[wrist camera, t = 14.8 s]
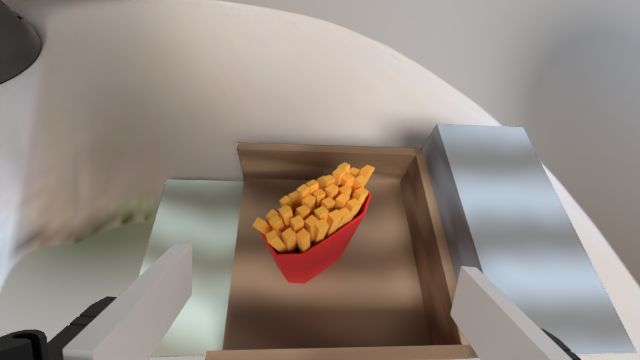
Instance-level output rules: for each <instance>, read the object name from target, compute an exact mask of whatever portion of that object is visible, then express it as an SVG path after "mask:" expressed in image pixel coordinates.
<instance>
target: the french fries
mask: <svg viewBox="0 0 640 360" xmlns="http://www.w3.org/2000/svg"><path fill="white" fill-rule="evenodd" d="M374 169H375V167H372V166H369V165H366V166H365V167H363V168H361V170H360V169H357V168H354V167H353V168H351V169H350V164H348V163H346V162H344V163H342V164H341V165H339V166H337V169H336V170H335V171H334V172H333V174H332V176H331V175H328V176H322V177H320V178H318V179H317V181H316V180H314V179H313V180H311V181H309V182H307V183H306V185H305V184H303V185H302V186H300V187H299V188H298V189H296V190H297V191H294V192H292V193H290V194H288V196H289V197H288V196H287V195H286V196H285V197H283V198H282V199H281V200H279V201H280V204H281V208H279V209H278V210H276V211H274V210H273V209H272V210H271V211H270V212H269V213H268V214H267V215H266V218H267V222H265V221H264V220H262V219H261V218H259V217H258V218H257V219H256V221H255V222H254V224H253V225H252V226H253V227H255V228H256V229H258V230H259V231H261V235H262V237H263V239H264V241H265V243H266V245H267V247H268V249H269V251H270V253H271V255H272V257H273V259H274V261H275V263H276V265H277V266H278V268H279V269H280V271H281V272H282V274H283V275H284V277H285V279H286V280H287V282H288V283H301V284H305V283H306V282H308V281H309V280H311V279H312V278H314V277H315V276H317V275H318V274H320V273H321V272H323V271H324V270H325V269H327V268H328V267H329V266H331V265H332V264H333V263H335V262H336V261H337V260H338V259H340V257H341V256H342V254H343V252H344V250H345V249H346V247H347V245H348V243H349V242H350V240H351V238H352V236H353V235H354V233H355V231H356V229H357V228H358V226H359V224H360V222H361V221H362V219H363V217H364V215H365V213H366V210H367V207H368V204H369V201H370V198H371V195H372V194H371V193H370V192H369V191H368V190H367V189H366V188H365V187H364V186H365V184H366V183H367V181H368V179H369V178H370V176H371V174H372V173H373V171H374Z"/></svg>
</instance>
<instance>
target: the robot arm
mask: <svg viewBox="0 0 640 360" xmlns="http://www.w3.org/2000/svg"><path fill="white" fill-rule="evenodd" d="M40 48H41V41H40V38H39V37H38V35H37V34H36V32H35V31H34V30H33V28H32V27H31V26H30V24H29V23H28V22H27V21H26V20H25V19H24V18H23V17H22V16H20V15H19V14H18V13H16V12H14V11H12V10H11V9H10V8H9V7H8V6H7V5H6V4H5V3H3V2H2V1H1V0H0V83H2V82H4V81H6V80H8V79H10V78H12V77H14V76H15V75H17V74H19V73H20V72H22V71H23V70H24V69H26V68H27V67H28V66H29V65H30V64H31V63H32V62H33V61H34V60H35V59H36V57H37V56H38V54H39V52H40ZM191 295H192V243H181V242H175V243H174V244H173V245H172V246H171V247H170V248H169V249H168V250H167V251H166V252H165V253H164V254H163V255H162V256H161V257H160V258H158V259H157V260H156V261H155V262H154V263H153V264H152V265H151V266H150V267H149V268H148V269H147V270H146V271H145V272H144V273H143V274H142V275H140V276H139V277H138V278H137V279H136V280H135V281H134V282H133V283H132V284H131V285H130V286H129V287H128V288H127V289H126V290H125V291H124V292H123V293H122V294H120V295H119V296H118V297H108V296H107V297H106V298H104V299H101V300H100V301H98V302H96V303H94V304H92V305H91V306H89V307H88V308H87V309H86V310H85V311H84V312H83V313H81V314H80V316H79V317H77V318H76V319H74V320H73V321H72V322H71V323H70V325H69V326H66V327H65V328H64V329H63V330H62V331H61V332H59V333H58V334H57V335H56V336H55V337H54V338H53V339H52V340H50V341H49V342H48V343H47V337H46V335H45V333H44V332H42V331H39V330H23V331H18V332H13V333H10V334H7V335H5V336H2V337H0V360H149V358H150V357H151V355H152V354H153V352H154V351H155V349H156V348H157V346H158V345H159V343H160V342H161V340H162V339H163V337H164V336H165V334H166V333H167V331H168V330H169V328H170V327H171V325H172V324H173V322H174V321H175V319H176V318H177V316H178V315H179V313H180V312H181V310H182V309H183V307H184V306H185V304H186V303H187V301H188V300H189V298H190V297H191ZM450 315H451V317H452V318H453V320H454V321H455V323H456V324H457V326H458V327H459V329H460V330H461V332H462V333H463V335H464V336H465V338H466V339H467V341H468V342H469V343H470V345H471V346H472V348H473V349H474V351H475V352H476V354H477V355H478V357H479V358H480V360H581V359H580V358H579V357H578V356H577V355H576V354H575V353H574V352H571V350H570V349H569V348H568V347H567V346H566V345H565V344H564V343H563V342H562V341H561V340H560V339H558V338H557V337H555V336H554V335H552V334H551V333H549V332H548V331H546V330H545V329H540V328H539V327H538V326H537V325H536V324H535V323H534V322H533V321H532V320H531V319H530V318H529V317H527V316H526V315H525V314H524V313H523V312H522V311H521V310H520V309H519V308H518V307H517V306H516V305H515V304H514V303H513V302H512V301H511V300H510V299H509V298H508V297H507V296H506V295H505V294H503V293H502V292H501V291H500V290H499V289H498V288H497V287H496V286H495V285H494V284H493V283H492V282H491V281H490V280H489V279H488V278H487V277H486V276H485V275H484V274H483V273H482V272H481V271H479V270H478V269H477V268H476V267H466V266H461V269H460V273H459V278H458V282H457V287H456V291H455V296H454V300H453V305H452V309H451V314H450Z"/></svg>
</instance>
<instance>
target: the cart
mask: <svg viewBox="0 0 640 360" xmlns="http://www.w3.org/2000/svg"><path fill="white" fill-rule="evenodd" d="M237 150H238V155H239V159H240V163H241V167H242V171H243V176H244V181H217V180H174V179H167V180H166V184H165V187H164V190H163V194H162V197H161V201H160V204H159V208H158V211H157V215H156V218H155V222H154V225H153V229H152V232H151V235H150V239H149V242H148V246H147V249H146V253H145V256H144V260H143V263H142V267H141V270H140V273H139V276H140V275H142V274H143V273H144V272H145V271H146V270H147V269H148V268H149V267H150V266H151V265H152V264H153V263H154V262H155V261H156V260H157V259H158V258H160V257H161V256H162V255H163V254H164V253H165V252H166V251H167V250H168V249H169V248H170V247H171V246H172V245H173V244H174V243H175V242H181V243H192V295H191V297H190V298H189V300H188V301H187V303H186V304H185V306H184V307H183V309H182V310H181V312H180V313H179V315H178V316H177V318H176V319H175V321H174V322H173V324H172V325H171V327H170V328H169V330H168V331H167V333H166V334H165V336H164V337H163V339H162V340H161V342H160V343H159V345H158V346H157V348H156V349H155V351H154V352H153V354H152V355H151V357H169V356H206V357H205V360H480V358H479V357H478V355H477V354H476V352H475V351H474V349H473V348H472V346H471V345H470V343H469V342H468V341H467V339H466V338H465V336H464V335H463V333H462V332H461V330H460V329H459V327H458V326H457V324H456V323H455V321H454V320H453V318H452V317H451V315H450V314H451V309H452V305H453V300H454V296H455V291H456V287H457V282H458V278H459V273H460V269H461V266H466V267H476V268H477V269H478V270H479V271H481V272H482V273H483V274H484V275H485V276H486V277H487V278H488V279H489V280H490V281H491V282H492V283H493V284H494V285H495V286H496V287H497V288H498V289H499V290H500V291H501V292H502V293H503V294H505V295H506V296H507V297H508V298H509V299H510V300H511V301H512V302H513V303H514V304H515V305H516V306H517V307H518V308H519V309H520V310H521V311H522V312H523V313H524V314H525V315H526V316H527V317H529V318H530V319H531V320H532V321H533V322H534V323H535V324H536V325H537V326H538V327H539V328H540V329H545V330H546V331H548V332H549V333H551V334H552V335H554V336H555V337H557V338H558V339H560V340H561V341H562V342H563V343H564V344H565V345H566V346H567V347H568V348H569V349H570V350H571V352H574V353H575V354H576V355H577V356H581V355H601V354H620V353H637V351H636V350H635V348H634V346H633V344H632V342H631V340H630V338H629V336H628V334H627V332H626V330H625V328H624V326H623V324H622V322H621V320H620V318H619V316H618V314H617V312H616V310H615V308H614V306H613V304H612V302H611V300H610V298H609V296H608V294H607V292H606V290H605V288H604V286H603V284H602V282H601V280H600V278H599V277H598V275H597V273H596V271H595V269H594V267H593V265H592V263H591V261H590V259H589V257H588V255H587V253H586V251H585V249H584V247H583V245H582V243H581V241H580V239H579V237H578V235H577V233H576V231H575V229H574V227H573V225H572V223H571V221H570V219H569V217H568V215H567V213H566V211H565V209H564V207H563V205H562V204H561V202H560V200H559V198H558V196H557V194H556V192H555V190H554V188H553V186H552V184H551V182H550V180H549V178H548V176H547V174H546V172H545V170H544V168H543V166H542V164H541V162H540V160H539V158H538V156H537V154H536V152H535V150H534V148H533V147H532V144H531V142H530V141H529V138H528V136H527V134H526V132H525V131H524V129H523V127H502V126H478V125H454V124H437V125H436V127H435V128H434V130H433V132H432V133H431V135H430V137H429V138H428V140H427V142H426V143H425V145H424V147H423V148H422V149H421V148H391V147H361V146H331V145H302V144H272V143H242V142H238V147H237ZM344 162H346V163H348V164H350V169H351V168H353V167H354V168H357V169H360V170H361V168H363V167H365V166H366V165H369V166H372V167H375V169H374V171H373V173H372V174H371V176H370V178H369V179H368V181H367V183H366V184H365V186H364V187H365V188H366V189H367V190H368V191H369V192H370V193H371V194H372V195H371V198H370V201H369V204H368V207H367V210H366V213H365V215H364V217H363V219H362V221H361V222H360V224H359V226H358V228H357V229H356V231H355V233H354V235H353V236H352V238H351V240H350V242H349V243H348V245H347V247H346V249H345V250H344V252H343V254H342V256H341V257H340V259H338V260H337V261H336V262H335V263H333V264H332V265H331V266H329V267H328V268H327V269H325V270H324V271H323V272H321V273H320V274H318V275H317V276H315V277H314V278H312V279H311V280H309V281H308V282H306V283H305V284H301V283H288V282H287V280H286V279H285V277H284V275H283V274H282V272H281V271H280V269H279V268H278V266H277V265H276V263H275V261H274V259H273V257H272V255H271V253H270V251H269V249H268V247H267V245H266V243H265V241H264V239H263V237H262V235H261V231H259V230H258V229H256V228H255V227H253V226H252V225H253V224H254V222H255V221H256V219H257V218H258V217H259V218H261V219H262V220H264V221H265V222H267V218H266V215H267V214H268V213H269V212H270V211H271V210H272V209H273V210H274V211H276V210H278V209H279V208H281V204H280V201H279V200H281V199H282V198H283V197H285V196H286V195H287V196H288V194H290V193H292V192H294V191H297V190H296V189H298V188H299V187H300V186H302V185H303V184H305V185H306V183H307V182H309V181H311V180H313V179H314V180H316V181H317V179H318V178H320V177H322V176H328V175H331V176H332V174H333V172H334V171H335V170H336V169H337V166H339V165H341V164H342V163H344ZM288 197H289V196H288Z"/></svg>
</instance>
